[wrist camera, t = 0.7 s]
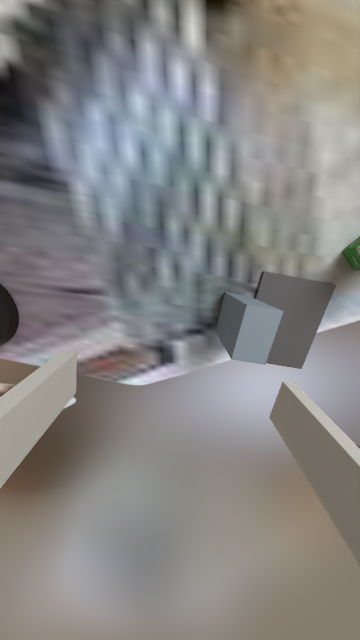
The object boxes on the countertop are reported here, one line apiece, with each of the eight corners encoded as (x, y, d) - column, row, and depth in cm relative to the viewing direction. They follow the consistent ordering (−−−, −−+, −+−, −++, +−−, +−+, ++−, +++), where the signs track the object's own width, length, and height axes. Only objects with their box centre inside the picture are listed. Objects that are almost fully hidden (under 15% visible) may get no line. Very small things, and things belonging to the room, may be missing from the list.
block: (215, 330, 38) (231, 359, 26) (225, 292, 36) (246, 304, 24) (239, 334, 38) (265, 364, 27) (250, 296, 36) (283, 311, 25)
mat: (237, 357, 40) (238, 358, 39) (263, 271, 35) (264, 271, 34) (300, 367, 40) (301, 368, 40) (333, 284, 35) (335, 285, 35)
